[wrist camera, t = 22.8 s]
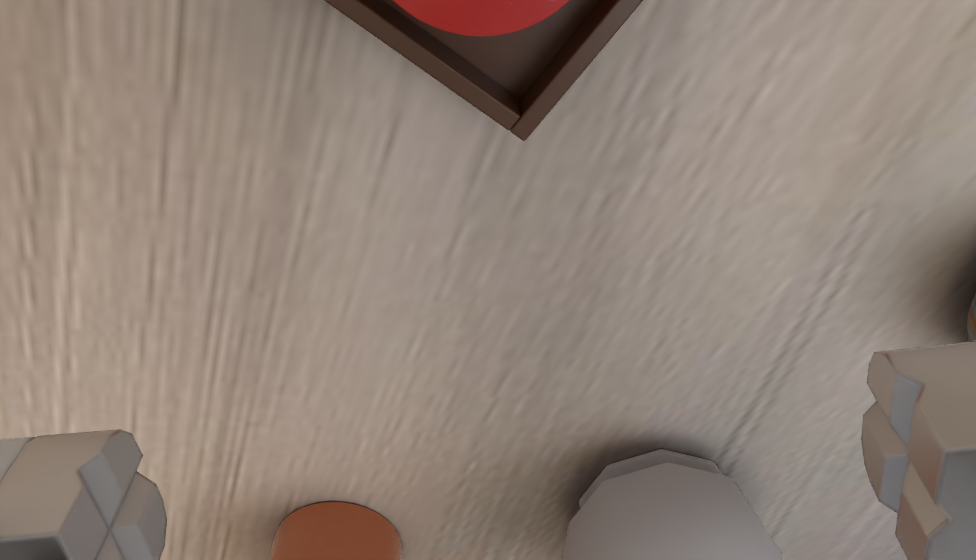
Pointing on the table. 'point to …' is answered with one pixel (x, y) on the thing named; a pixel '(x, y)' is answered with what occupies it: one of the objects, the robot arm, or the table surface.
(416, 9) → the jar lid
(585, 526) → the potion bottle
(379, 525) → the jar
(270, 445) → the table surface
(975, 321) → the vase
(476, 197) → the table surface
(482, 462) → the table surface
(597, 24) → the tray
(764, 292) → the table surface
